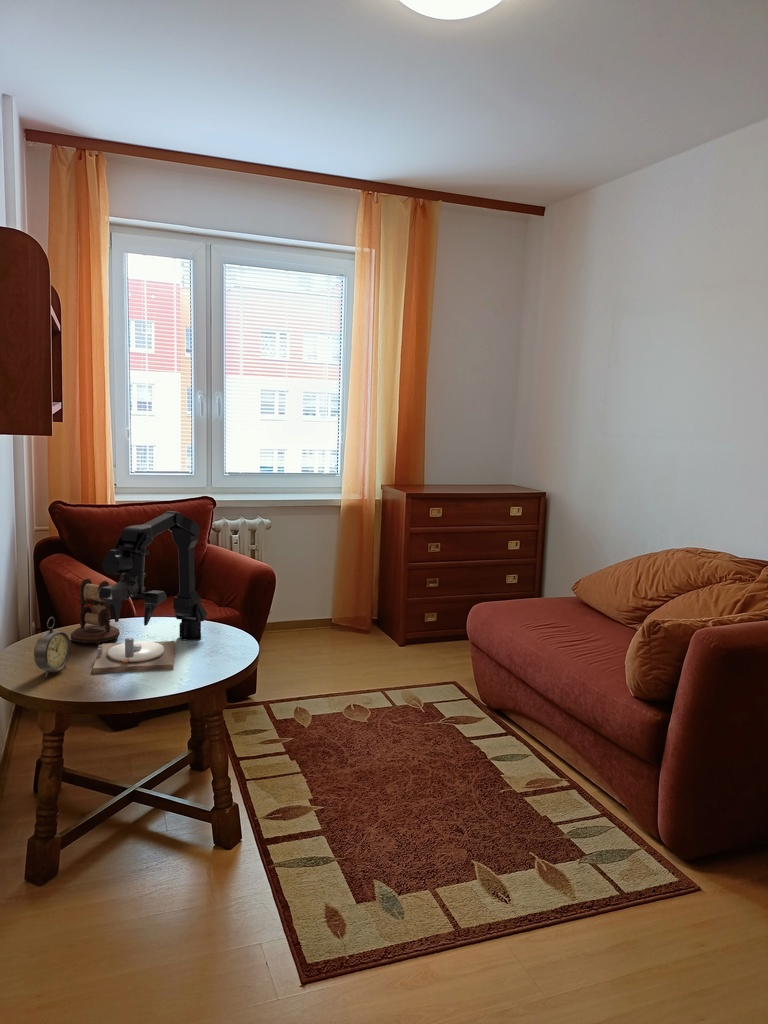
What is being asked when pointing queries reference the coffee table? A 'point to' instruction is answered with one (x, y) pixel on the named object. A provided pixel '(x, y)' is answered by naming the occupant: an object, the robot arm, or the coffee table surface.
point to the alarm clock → (52, 650)
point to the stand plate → (110, 665)
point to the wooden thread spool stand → (94, 616)
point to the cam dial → (135, 651)
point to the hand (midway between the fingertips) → (131, 623)
